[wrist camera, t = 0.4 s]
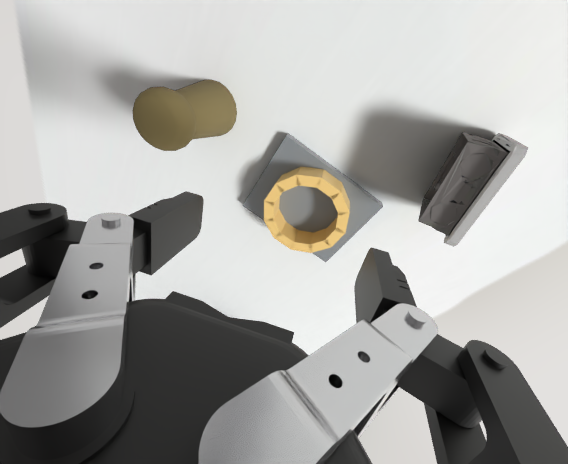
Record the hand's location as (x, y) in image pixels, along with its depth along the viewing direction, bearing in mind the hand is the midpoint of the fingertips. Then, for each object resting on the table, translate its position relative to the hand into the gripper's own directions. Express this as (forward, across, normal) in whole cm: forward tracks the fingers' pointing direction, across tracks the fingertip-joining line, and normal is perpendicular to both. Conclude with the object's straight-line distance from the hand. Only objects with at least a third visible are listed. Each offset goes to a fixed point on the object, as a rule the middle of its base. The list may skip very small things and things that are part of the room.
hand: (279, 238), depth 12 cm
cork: (+21, +14, -3) cm, 25 cm away
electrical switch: (+21, -14, -3) cm, 26 cm away
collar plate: (+22, 0, +5) cm, 23 cm away
